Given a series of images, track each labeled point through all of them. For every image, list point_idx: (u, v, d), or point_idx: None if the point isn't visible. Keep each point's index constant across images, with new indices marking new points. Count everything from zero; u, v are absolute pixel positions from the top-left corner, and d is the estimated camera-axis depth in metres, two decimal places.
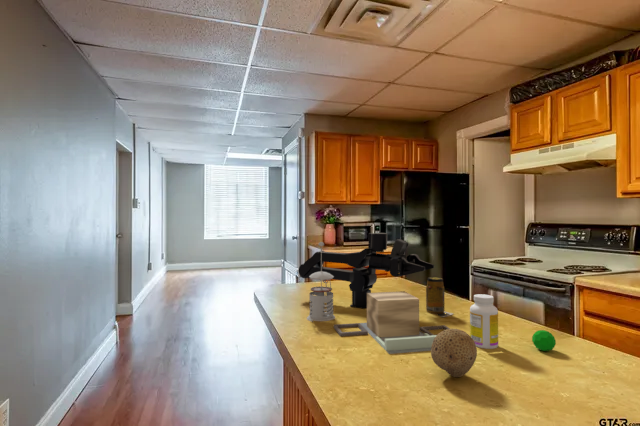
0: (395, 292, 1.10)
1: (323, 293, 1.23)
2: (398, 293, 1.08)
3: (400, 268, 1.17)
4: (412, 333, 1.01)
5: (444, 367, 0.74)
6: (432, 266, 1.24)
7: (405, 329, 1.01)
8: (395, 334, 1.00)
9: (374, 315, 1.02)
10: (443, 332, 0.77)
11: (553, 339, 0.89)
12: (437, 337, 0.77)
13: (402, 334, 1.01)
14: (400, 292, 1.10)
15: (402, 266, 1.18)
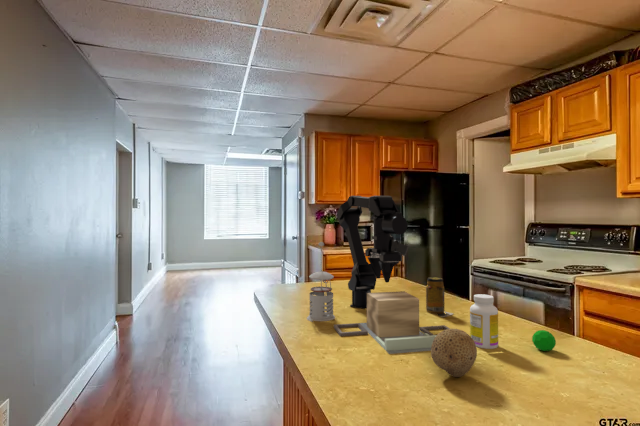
0: (395, 292, 1.10)
1: (323, 293, 1.23)
2: (398, 293, 1.08)
3: (389, 262, 1.14)
4: (412, 333, 1.01)
5: (444, 367, 0.74)
6: (378, 277, 1.25)
7: (405, 329, 1.01)
8: (395, 334, 1.00)
9: (374, 315, 1.02)
10: (443, 332, 0.77)
11: (553, 339, 0.89)
12: (437, 337, 0.77)
13: (402, 334, 1.01)
14: (400, 292, 1.10)
15: None
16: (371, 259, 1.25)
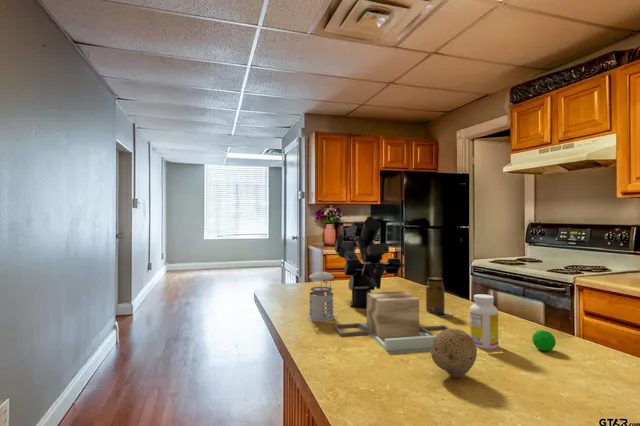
0: (395, 292, 1.10)
1: (323, 293, 1.23)
2: (398, 293, 1.08)
3: (363, 271, 1.21)
4: (412, 333, 1.01)
5: (444, 367, 0.74)
6: None
7: (405, 329, 1.01)
8: (395, 334, 1.00)
9: (374, 315, 1.02)
10: (443, 332, 0.77)
11: (553, 339, 0.89)
12: (437, 337, 0.77)
13: (402, 334, 1.01)
14: (400, 292, 1.10)
15: (366, 271, 1.20)
16: None
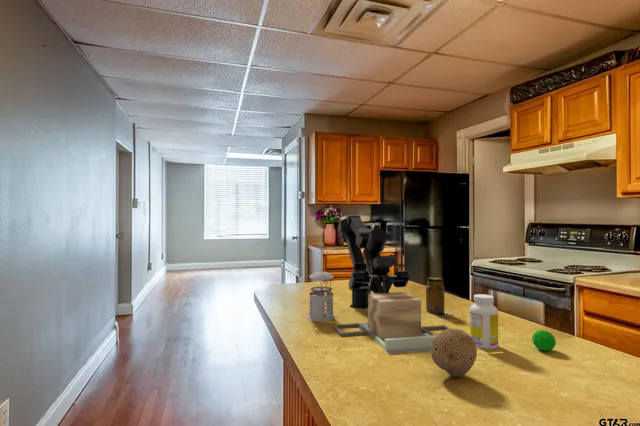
0: (396, 293, 1.09)
1: (323, 293, 1.23)
2: (400, 294, 1.07)
3: (369, 285, 1.14)
4: (414, 334, 1.00)
5: (444, 367, 0.74)
6: None
7: (407, 330, 1.00)
8: (396, 336, 0.99)
9: (375, 316, 1.01)
10: (443, 332, 0.77)
11: (553, 339, 0.89)
12: (437, 337, 0.77)
13: (404, 335, 1.00)
14: (402, 293, 1.09)
15: (372, 284, 1.13)
16: None
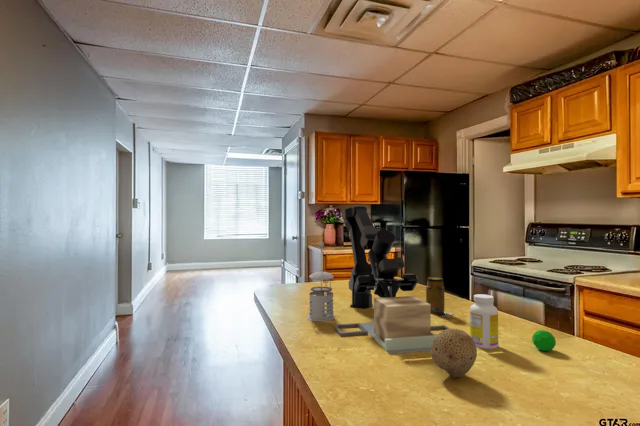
0: (404, 297, 1.03)
1: (323, 293, 1.23)
2: (407, 298, 1.02)
3: (375, 289, 1.09)
4: None
5: (444, 367, 0.74)
6: None
7: None
8: None
9: (382, 321, 0.96)
10: (443, 332, 0.77)
11: (553, 339, 0.89)
12: (437, 337, 0.77)
13: None
14: (409, 297, 1.03)
15: (379, 288, 1.08)
16: None
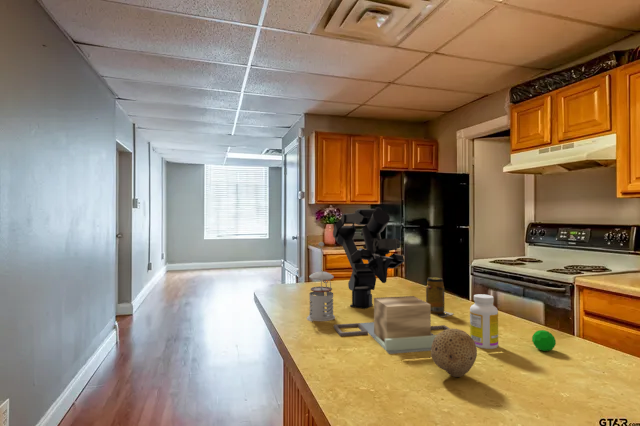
0: (404, 297, 1.03)
1: (323, 293, 1.23)
2: (407, 298, 1.02)
3: (370, 262, 1.18)
4: None
5: (444, 367, 0.74)
6: None
7: None
8: None
9: (382, 321, 0.96)
10: (443, 332, 0.77)
11: (553, 339, 0.89)
12: (437, 337, 0.77)
13: None
14: (409, 297, 1.03)
15: (373, 263, 1.18)
16: None
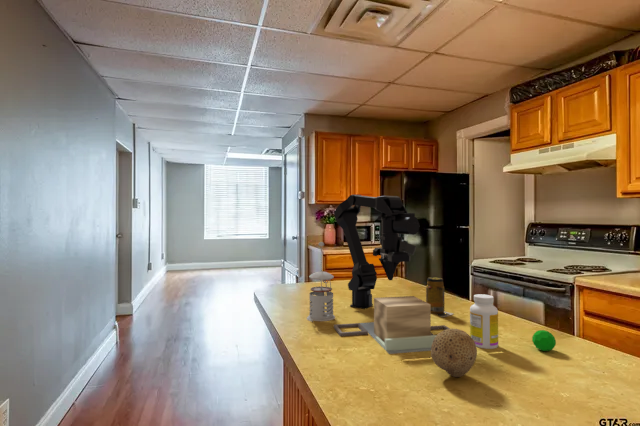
0: (404, 297, 1.03)
1: (323, 293, 1.23)
2: (407, 298, 1.02)
3: None
4: None
5: (444, 367, 0.74)
6: None
7: None
8: None
9: (382, 321, 0.96)
10: (443, 332, 0.77)
11: (553, 339, 0.89)
12: (437, 337, 0.77)
13: None
14: (409, 297, 1.03)
15: (394, 261, 1.19)
16: (383, 260, 1.22)
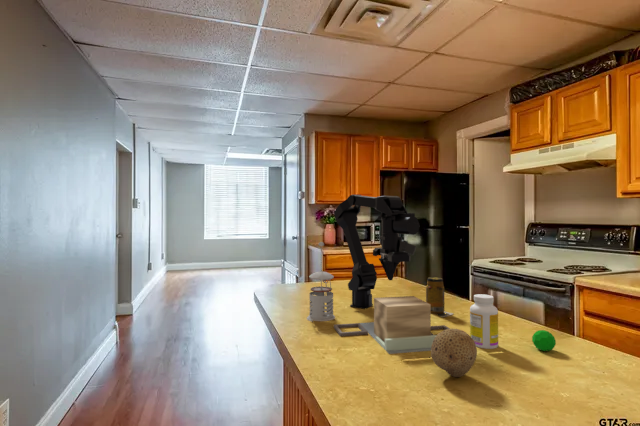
0: (404, 297, 1.03)
1: (323, 293, 1.23)
2: (407, 298, 1.02)
3: None
4: None
5: (444, 367, 0.74)
6: None
7: None
8: None
9: (382, 321, 0.96)
10: (443, 332, 0.77)
11: (553, 339, 0.89)
12: (437, 337, 0.77)
13: None
14: (409, 297, 1.03)
15: (394, 261, 1.19)
16: (383, 260, 1.22)
